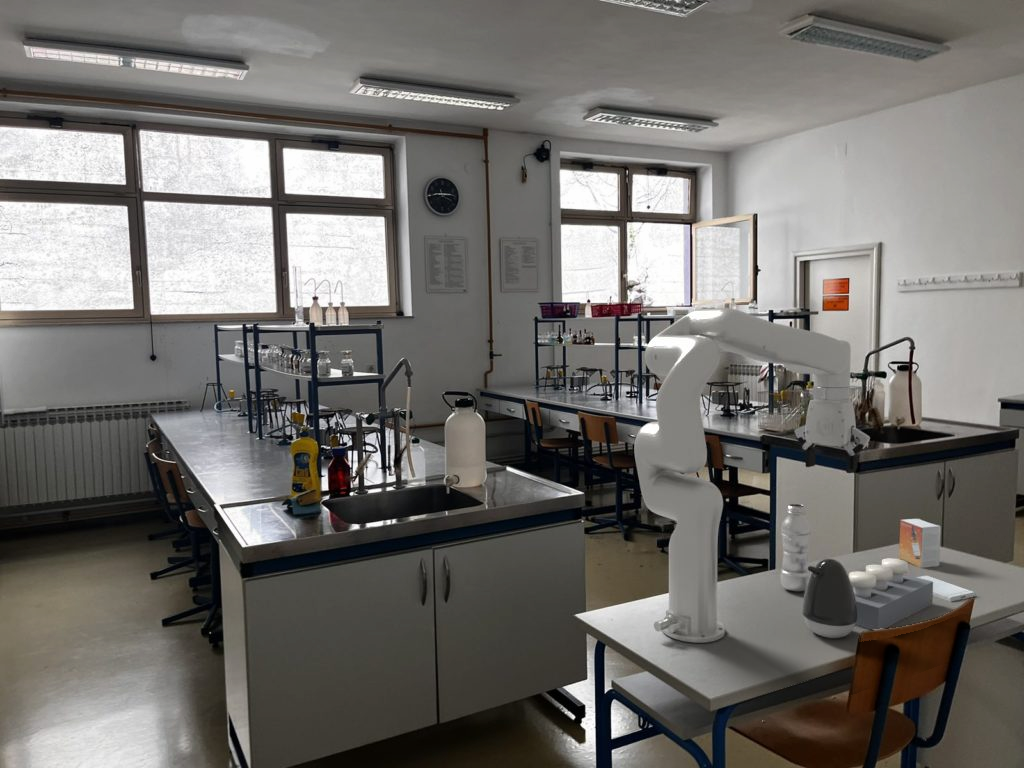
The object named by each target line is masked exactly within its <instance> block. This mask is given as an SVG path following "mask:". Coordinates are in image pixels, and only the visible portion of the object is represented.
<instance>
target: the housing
mask: <svg viewBox="0 0 1024 768" xmlns="http://www.w3.org/2000/svg"><path fill="white" fill-rule="evenodd" d="M852 587H853V589H854V586H853V585H852ZM933 597H934V595H933V581H929V580H925V579H921V578H916V576H911V575H909V574H905V573H904V574H903V583H902V584H897V583H893V582H889V581H888V589H887V590H886V591H884V592H883V591H880V590H876V589H872V588H871V598H869V599H864V598H861V597H857V596H855V599H856V606H857V621H856V622H855V625H854V626H857V627H861V628H864V629H867V630H870V629H880V628H885V629H887V628H889V627H891V626H893V625H895V624H897V623H898V622H900V621H902V620H904V619H906V618H907V617H910V616H911V615H913V614H915V613H918V612H919V611H922V610H923V609H925V608H927V607H929V606H931V605H933ZM886 627H887V628H886Z"/></svg>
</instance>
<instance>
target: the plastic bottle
mask: <svg viewBox="0 0 1024 768" xmlns="http://www.w3.org/2000/svg"><path fill="white" fill-rule="evenodd" d="M786 512H787V513H786V514H788V515H787V516H786V517H785V518H784V520H782V522H781V525H780V532H781V533H780V534H781V539H782V550H783V551H782V555H783V556H782V557H783V558H782V567H781V570H780V571H781V572H780V575H779V576H780V583H781V585H782V587H783V588H784V589H785V590H788V591H792V592H805V590H806V587H807V584H808V581H809V578H810V576H811V571H809V570H808V566H810V565H809V547H810V546H809V545H810V539H811V538H810V537H811V533H812V528H811V525H810V523H809V521H808V519H806V517H805V515H806V506H805V504H801V503H789V504H788V505H787V510H786Z"/></svg>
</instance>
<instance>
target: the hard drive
mask: <svg viewBox="0 0 1024 768" xmlns="http://www.w3.org/2000/svg"><path fill="white" fill-rule="evenodd" d="M915 577H916V576H915ZM916 578H921V579H925V580H929V581H933V597H936V598H940V599H942V600H945V601H948V602H955V601H961V600H965V599H969V597H970V598H974V597H976V596H977V593H976V592H975V591H973V590H969V589H967V588H963V587H962V586H959V585H955V584H952V583H949V582H946V581H943V580H941V579H938V578H935V577H933V576H929V575H922V576H917V577H916ZM973 596H974V597H973Z"/></svg>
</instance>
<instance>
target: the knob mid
mask: <svg viewBox="0 0 1024 768" xmlns="http://www.w3.org/2000/svg"><path fill="white" fill-rule="evenodd" d="M865 572H868V573H871V574H874V575H875V576H876V587H873V588H872V589H876V590H880V591H883V592H884V591H886V590H887V589H888V580H892V577H893V570H892V569H891V568H890V567H887V566H883V565H882V564H867V565H866V566H865Z"/></svg>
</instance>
